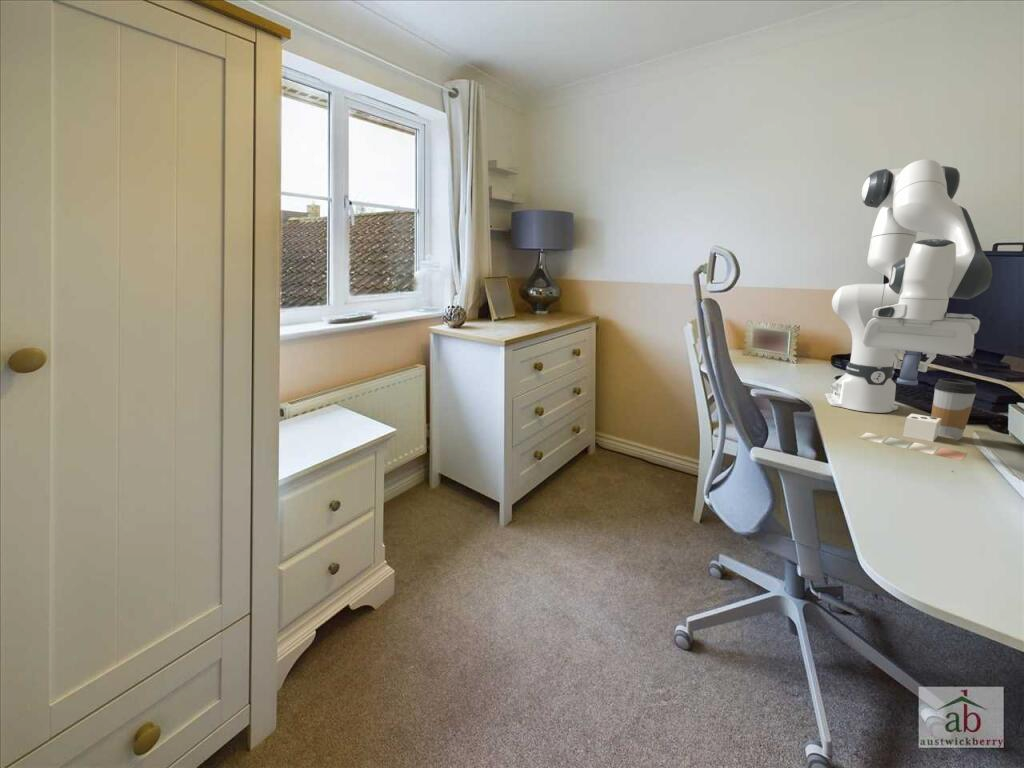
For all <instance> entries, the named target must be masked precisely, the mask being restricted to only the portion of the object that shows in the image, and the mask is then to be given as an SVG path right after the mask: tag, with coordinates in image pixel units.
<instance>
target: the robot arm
mask: <svg viewBox="0 0 1024 768" xmlns="http://www.w3.org/2000/svg"><path fill="white" fill-rule="evenodd" d="M960 177H961V175H960V171H959V170H958V169H957V168H956V167H952V166H946V165H945V166H944V165H943V166H942V165H941V164H940V163H939V162H937V161H936V160H933V159H928V158H927V159H926V158H925V159H920V160H916V161H915V160H914V161H913V162H911V163H909V164H908V165H906V166H905V167H899V168H891V169H887V168H885V169H879V170H875V171H873V172H872V173H870V174H869V175H868V176H867V179H866V180H865V181H864V183H863V186H862V189H861V197H862V203H863V204H864V205H865V206H866V207H869V208H876V209H877V208H880V209H879V211H878V214H877V215H876V219H875V221H874V224H873V228H872V232H871V236H870V242H869V248H868V254H867V258H866V262H867V266H868V267H869V268H870V269H871V270H873V271H874V272H876V273H879V274H882V275H883V276H885V277H886V278H888V282H887V283H853V284H846V285H842V286H840V287H839V288H838V289H837V290H835V292H834V294H833V296H832V298H831V307H832V310H833V313H834V314H835V315H837V316H838V317H839V318H841V320H843V322H845V324H846V325H847V327H848V330H849V331H850V334H851V342H852V343H851V353H850V361H849V362H848V363H847V365H846V368H845V373H844V374H843V375H842V376H840V377H839V378H838V379H837V380H836V381H835V382H832V383H831V385H830V390H832V391H833V392H827V393H824V397H825V396H826V397H825V399H826V398H827V399H826V400H827V402H828V403H829V405H830V406H834V407H839V408H843V409H844V408H845V409H847V410H848V409H849V410H853V411H859V412H864V413H865V412H866V413H877V414H878V413H879V414H881V413H883V414H885V413H890V412H893V411H898V410H899V406H898V405H895V400H896V389H897V384H896V382H894V381H893V379H892V378H893V377H894V374H895V370H896V369H897V370H901V367H902V362H903V360H900V358H899V356H898V355H899V354H900V353H901V351H904V352H905V351H916V352H921V353H926V358H928V359H927V360H926V361H925V362H924V363H921V362H920V364H919V365H918V367H919V368H918V370H917V371H918V372H920V373H921V372H922V373H926V372H927V371H928V366H929V364H930V363H932V362H933V361H934V360H935V359H937V355H948V356H958V357H959V356H960V357H967V356H969V355H971V354H972V353H973V351H974V346H975V345H974V344H975V334H977V333H978V331H980V330H979V329H980V325H981V320H980V319H979V318H978V317H977V316H974V315H973V314H972V313H956V312H947V309H948V306H949V299H950V298H951V299H960V300H971V299H973V298H975V297H977V296H979V295H980V294H982V293H983V292H985V291H986V290H988V288H989V287H990V286H991V282H992V277H993V267H992V265H991V262H990V260H989V259H988V257H987V256H986V254H985V253H984V251H983V248H982V245H981V242H980V239H979V238H978V234H977V232H976V229H975V226H974V223H973V221H972V218H971V216H970V214H969V212H968V210H967V209H966V208H965V207H963V206H961V205H958V204H957V203H956V202H955V201H953V198H954V197H955V195H956V194H957V192H958V190H959V188H960V184H961V178H960ZM918 233H925V234H930V235H934V236H938V237H941V238H943V239H939V238H937V239H936V238H934V239H933V238H931V239H928V238H927V239H921V240H917V235H918ZM897 409H898V410H897Z"/></svg>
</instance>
